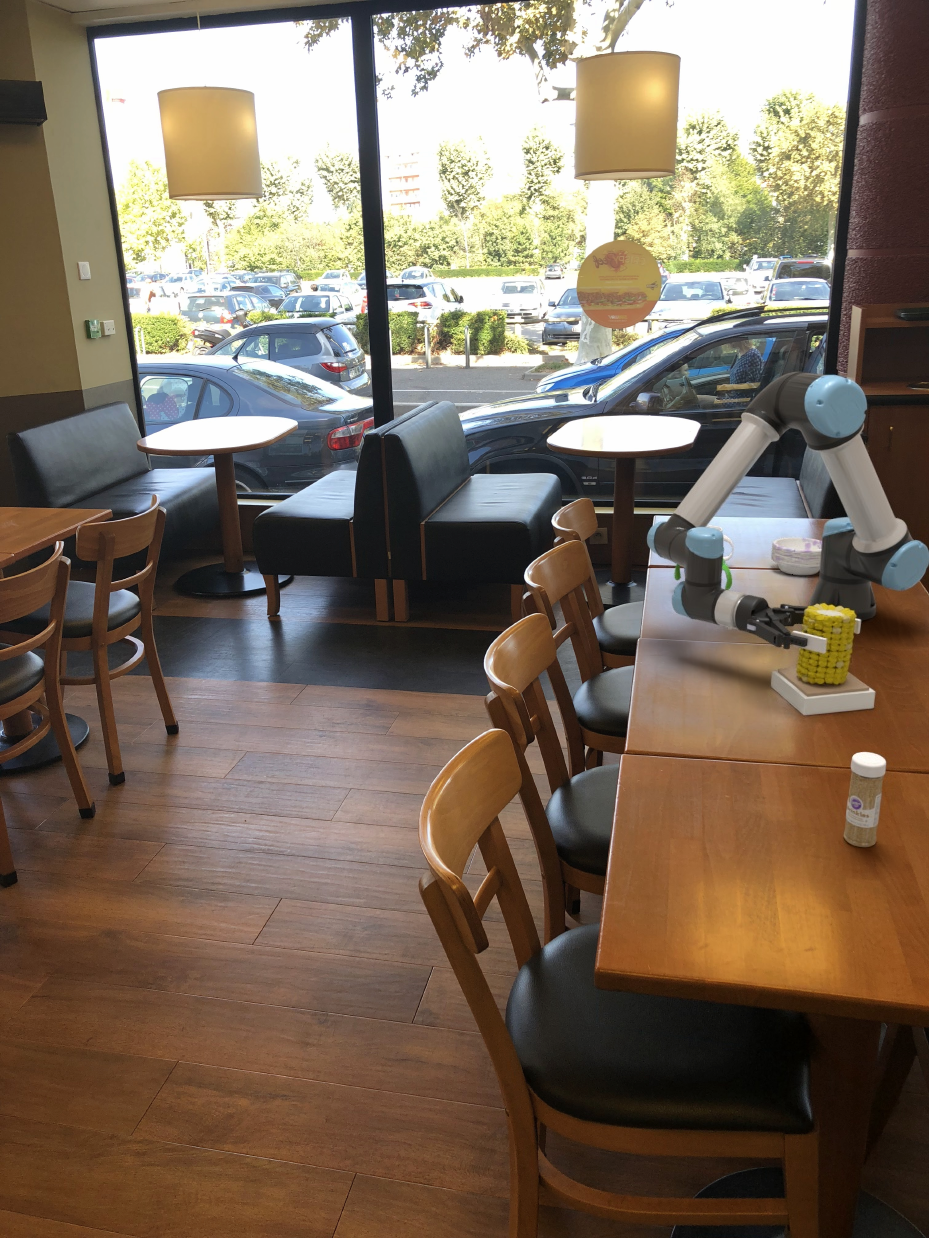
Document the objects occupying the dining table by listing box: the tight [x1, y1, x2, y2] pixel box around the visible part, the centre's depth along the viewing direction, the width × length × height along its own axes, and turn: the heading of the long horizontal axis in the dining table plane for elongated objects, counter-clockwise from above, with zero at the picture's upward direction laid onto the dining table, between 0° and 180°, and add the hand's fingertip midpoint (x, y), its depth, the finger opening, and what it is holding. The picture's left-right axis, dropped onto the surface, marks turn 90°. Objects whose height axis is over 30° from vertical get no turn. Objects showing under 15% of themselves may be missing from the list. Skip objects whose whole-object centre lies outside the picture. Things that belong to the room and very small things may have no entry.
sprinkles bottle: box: [843, 751, 887, 848], centre depth 140 cm, size 5×5×13 cm
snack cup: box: [673, 559, 733, 590], centre depth 248 cm, size 16×10×10 cm
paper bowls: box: [770, 536, 822, 576], centre depth 267 cm, size 15×15×8 cm
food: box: [796, 603, 857, 685], centre depth 186 cm, size 15×12×10 cm
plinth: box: [770, 666, 876, 716], centre depth 189 cm, size 14×14×4 cm
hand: (843, 636), depth 183 cm, fingers open, 13 cm apart
